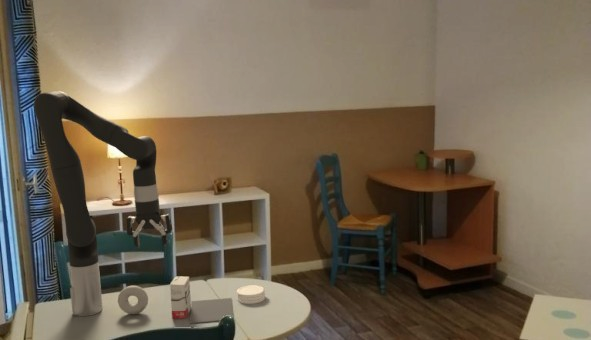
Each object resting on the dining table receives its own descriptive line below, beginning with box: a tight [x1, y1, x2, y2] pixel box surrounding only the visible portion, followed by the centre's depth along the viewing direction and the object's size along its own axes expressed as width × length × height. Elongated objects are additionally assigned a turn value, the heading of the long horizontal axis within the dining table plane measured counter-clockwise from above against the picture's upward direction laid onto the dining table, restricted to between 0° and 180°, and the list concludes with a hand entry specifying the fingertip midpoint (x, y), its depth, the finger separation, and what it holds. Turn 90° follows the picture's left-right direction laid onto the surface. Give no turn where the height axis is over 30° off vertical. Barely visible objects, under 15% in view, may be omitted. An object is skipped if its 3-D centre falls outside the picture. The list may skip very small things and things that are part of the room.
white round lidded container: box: [236, 284, 266, 305], centre depth 201 cm, size 10×10×4 cm
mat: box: [189, 297, 234, 325], centre depth 191 cm, size 14×18×1 cm
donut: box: [117, 285, 149, 315], centre depth 190 cm, size 10×4×10 cm, turn 94°
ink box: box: [169, 275, 192, 319], centre depth 189 cm, size 9×5×12 cm, turn 179°
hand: (151, 246), depth 185 cm, fingers open, 8 cm apart
